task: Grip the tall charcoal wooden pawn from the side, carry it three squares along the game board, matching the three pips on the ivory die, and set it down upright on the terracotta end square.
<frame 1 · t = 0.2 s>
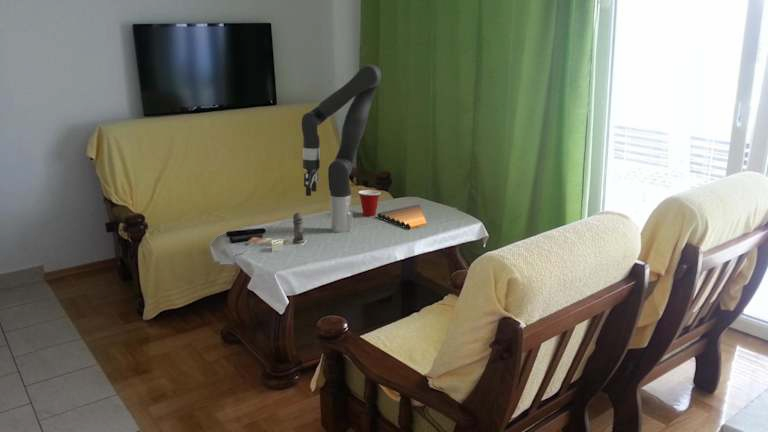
hand: (311, 193, 273), 17 cm above the table, tool pointing down, fingers open, 8 cm apart
pan flute: (413, 220, 296), on the table
plastic cup: (369, 215, 302), on the table
board: (278, 243, 261), on the table
pawn: (298, 242, 260), point 1 cm above the table, touching board
die: (277, 251, 251), on the table
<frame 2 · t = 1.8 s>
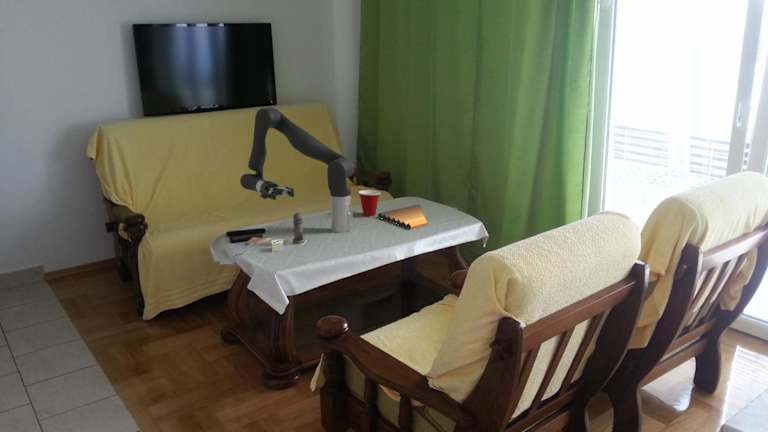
hand: (284, 196, 263), 19 cm above the table, tool horizontal, fingers open, 8 cm apart
nothing on the table moved.
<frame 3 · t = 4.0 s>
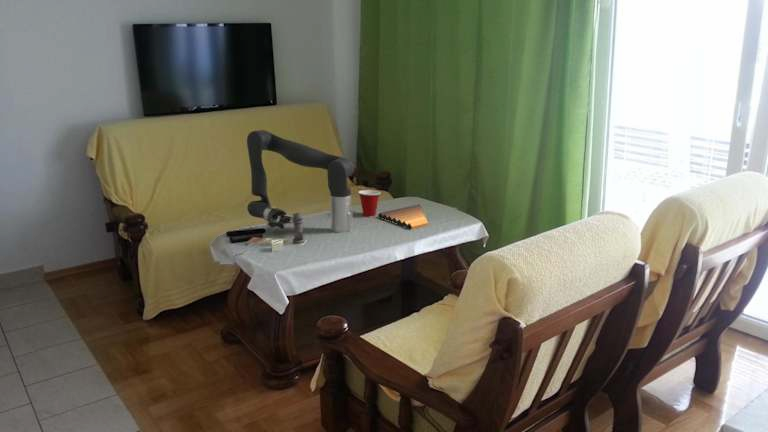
hand: (292, 224, 262), 8 cm above the table, tool horizontal, fingers open, 8 cm apart
nothing on the table moved.
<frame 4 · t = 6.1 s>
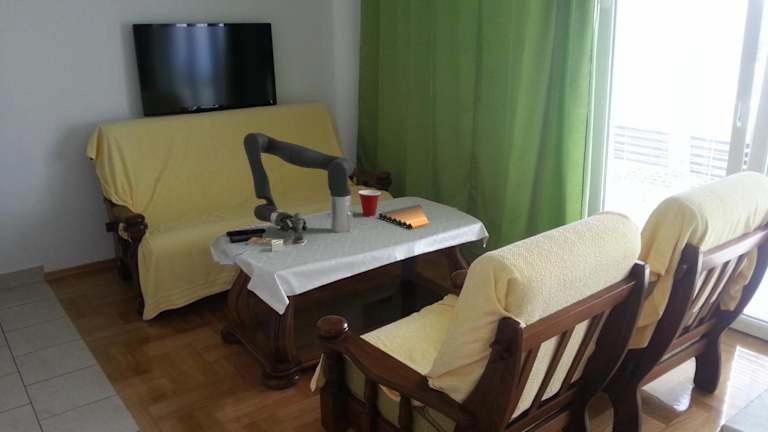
hand: (301, 229, 256), 7 cm above the table, tool horizontal, fingers closed on pawn, 3 cm apart
pawn: (298, 242, 260), point 1 cm above the table, touching board, gripper
everything else where it was.
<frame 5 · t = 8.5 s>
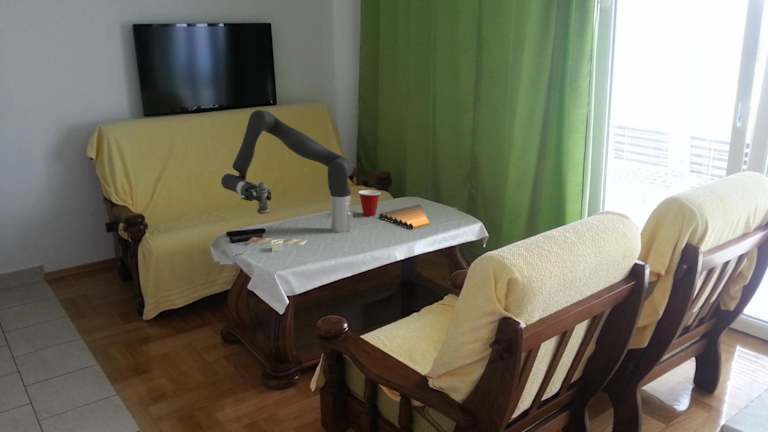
hand: (265, 199, 254), 20 cm above the table, tool horizontal, fingers closed on pawn, 3 cm apart
pawn: (263, 212, 258), point 14 cm above the table, touching gripper
everything else where it was.
when the fingers open (9 cm above the table, at t = 11.2 s): pawn drops 1 cm, resting on board.
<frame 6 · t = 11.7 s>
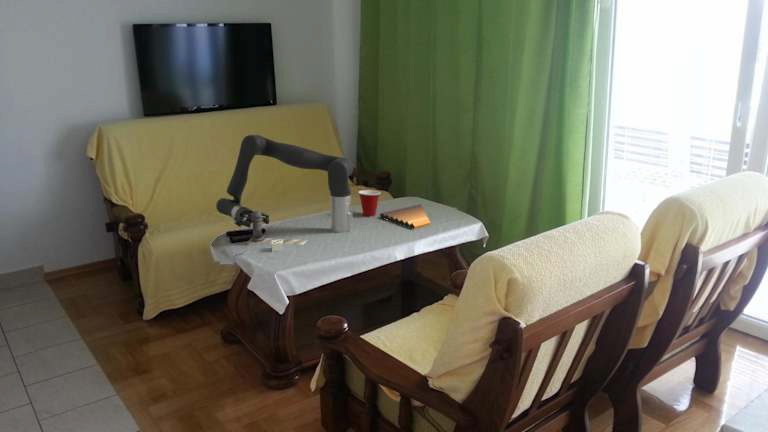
hand: (258, 223, 258), 9 cm above the table, tool horizontal, fingers open, 8 cm apart
pawn: (257, 239, 262), point 1 cm above the table, touching board
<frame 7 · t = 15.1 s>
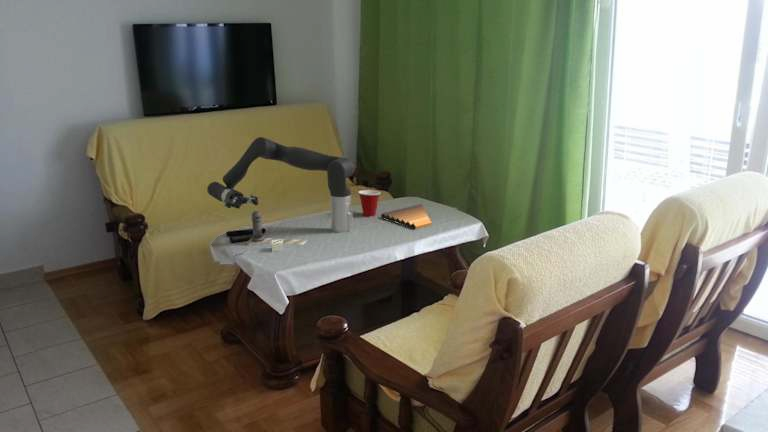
hand: (248, 204, 268), 14 cm above the table, tool horizontal, fingers open, 8 cm apart
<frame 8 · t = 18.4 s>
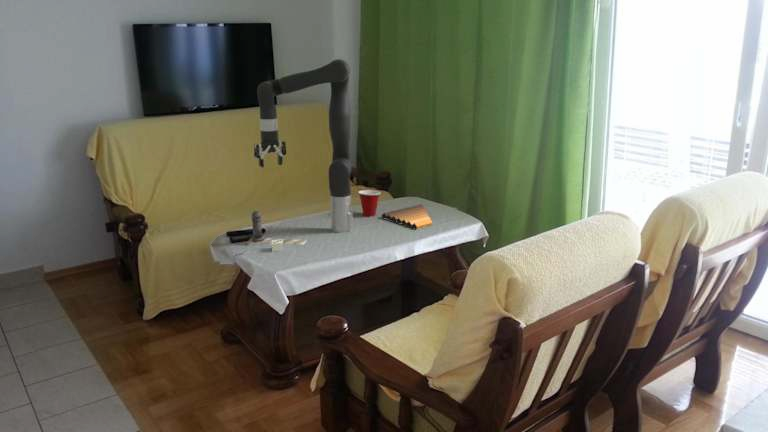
hand: (271, 166, 269), 30 cm above the table, tool pointing down, fingers open, 8 cm apart
at the end: pawn 0.1 cm from the target spot, point 1.2 cm above the table; pawn tilted 0°; the gripper is holding nothing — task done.
